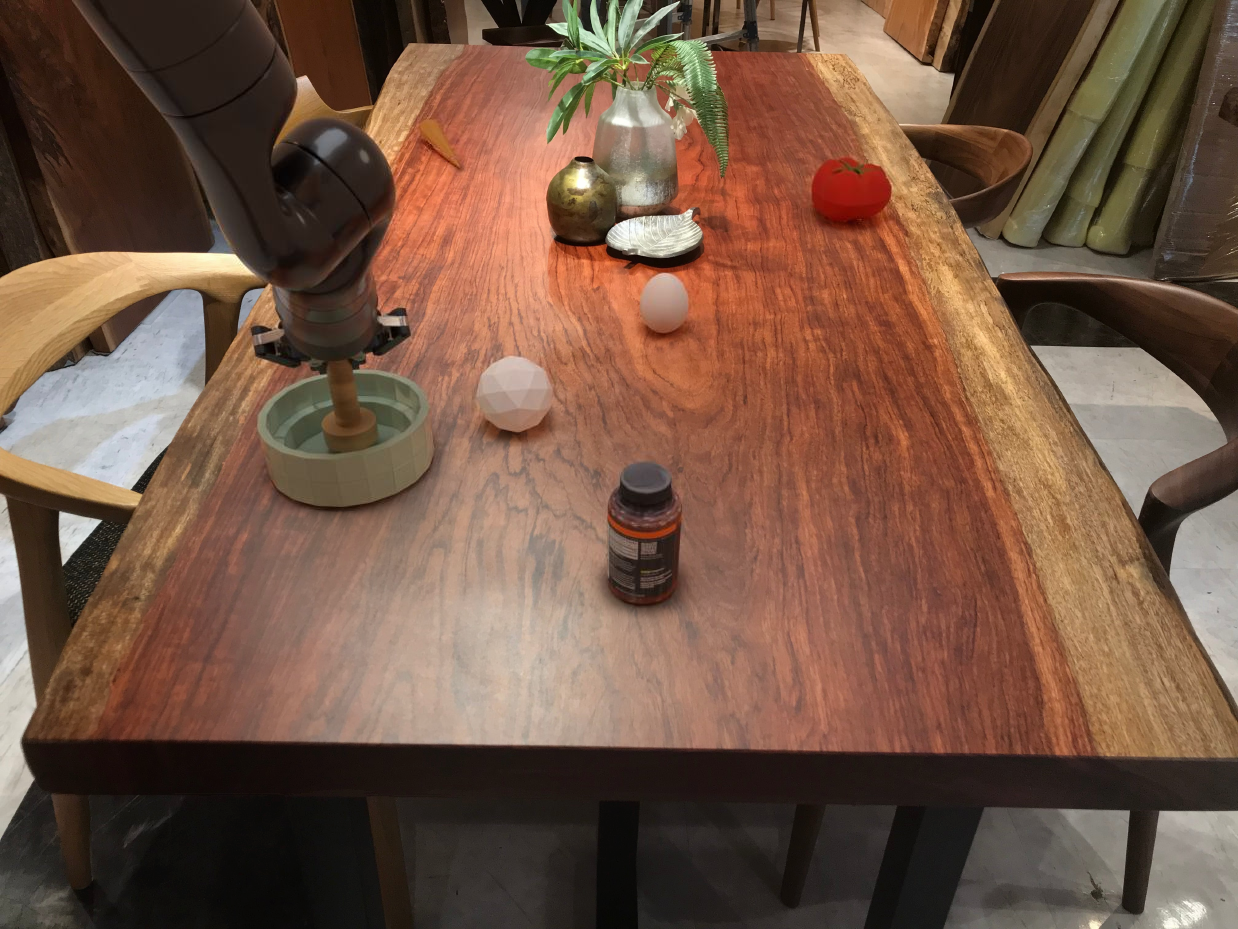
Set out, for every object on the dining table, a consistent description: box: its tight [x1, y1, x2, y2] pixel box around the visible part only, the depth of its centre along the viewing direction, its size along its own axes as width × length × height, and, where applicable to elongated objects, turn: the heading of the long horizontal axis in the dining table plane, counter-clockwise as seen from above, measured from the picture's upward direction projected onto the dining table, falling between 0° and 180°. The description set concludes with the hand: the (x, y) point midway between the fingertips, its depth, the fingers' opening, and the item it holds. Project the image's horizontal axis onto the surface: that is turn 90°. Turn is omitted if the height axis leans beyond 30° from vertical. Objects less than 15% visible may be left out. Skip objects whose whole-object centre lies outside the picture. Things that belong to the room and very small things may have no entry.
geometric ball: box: [475, 355, 554, 433], centre depth 92 cm, size 8×8×8 cm
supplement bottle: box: [606, 461, 683, 605], centre depth 72 cm, size 6×6×11 cm
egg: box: [639, 272, 690, 334], centre depth 110 cm, size 6×6×8 cm
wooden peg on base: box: [321, 358, 379, 453], centre depth 85 cm, size 5×5×12 cm
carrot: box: [418, 118, 461, 169], centre depth 166 cm, size 20×4×4 cm, turn 26°
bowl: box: [256, 368, 435, 508], centre depth 86 cm, size 16×16×6 cm
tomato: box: [810, 157, 893, 223], centre depth 143 cm, size 14×13×9 cm
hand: (337, 362), depth 86 cm, fingers closed on wooden peg on base, 2 cm apart
